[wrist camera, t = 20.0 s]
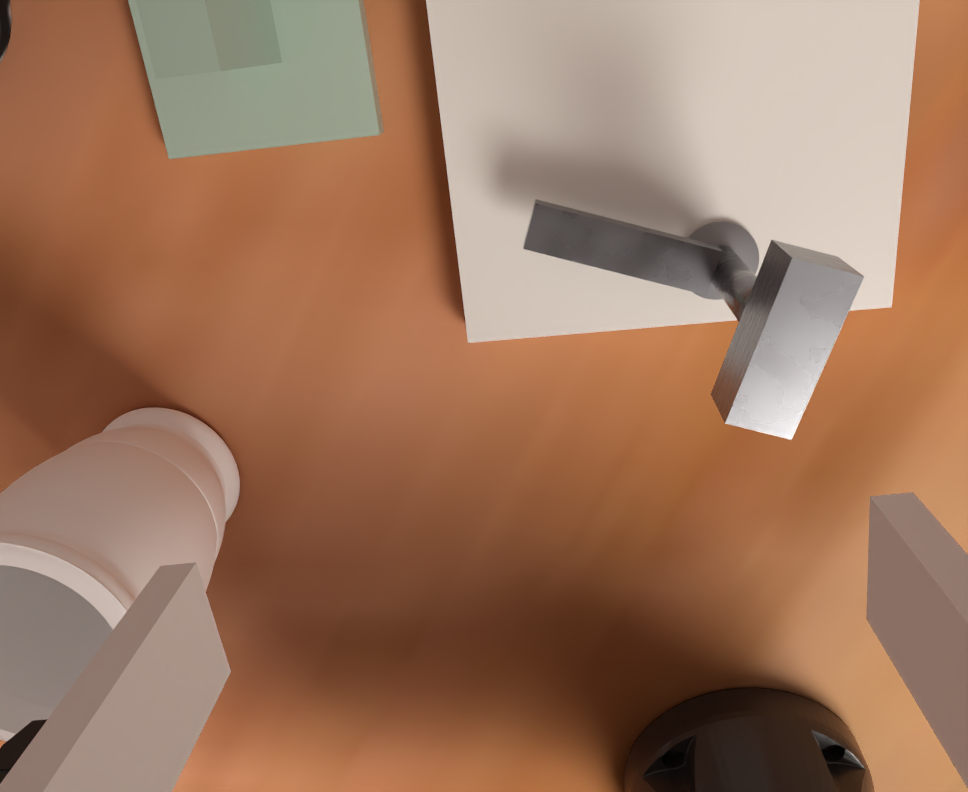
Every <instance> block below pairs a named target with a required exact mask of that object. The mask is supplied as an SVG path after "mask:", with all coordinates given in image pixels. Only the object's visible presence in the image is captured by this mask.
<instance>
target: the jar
mask: <svg viewBox="0 0 968 792" xmlns="http://www.w3.org/2000/svg"><path fill="white" fill-rule="evenodd" d="M239 492H240V478H239V472H238V468H237V465H236V462H235V459H234V457H233V455H232V453H231V451H230V450H229V448H228V447H227V445H226V444H225V442H224V441H223V440H222V439H221V438H220V436H219V435H218V434H217V433H216V432H215V431H213V430H212V429H211V428H210V427H209V426H207V425H206V424H204V423H203V422H202V421H200V420H198V419H196V418H194V417H192V416H190V415H188V414H186V413H183V412H180V411H177V410H173V409H167V408H158V407H152V408H142V409H137V410H133V411H130V412H127V413H125V414H123V415H121V416H119V417H118V418H116V419H115V420H113V421H112V422H111V423H110V424H109V425H108V426H107V427H106V428H105V429H104V430H103V431H102V433H99V434H96V435H94V436H91V437H89V438H87V439H84V440H82V441H80V442H78V443H77V444H75V445H73V446H71V447H70V448H68V449H66V450H65V451H63V452H61V453H59V454H57V455H55V456H53V457H52V458H50V459H48V460H46V461H44V462H43V463H41V464H39V465H37V466H36V467H34V468H33V469H31V470H30V471H28V472H27V473H25V474H24V475H22V476H21V477H20V478H18V479H17V480H16V481H14V482H13V483H12V484H11V485H9V486H8V487H7V488H6V489H5V490H4V491H2V492H1V493H0V740H3V741H6V742H7V741H8V740H9V739H11V738H12V737H13V736H14V735H16V734H17V733H18V732H19V731H20V730H22V729H23V728H24V727H25V726H26V725H28V724H29V723H30V722H31V721H33V720H46V719H48V718H49V717H50V715H51V714H52V713H53V711H54V710H55V709H56V707H57V706H58V705H59V703H60V702H61V700H62V699H63V698H64V696H65V695H66V694H67V692H68V691H69V690H70V688H71V687H72V685H73V684H74V683H75V681H76V680H77V679H78V677H79V676H80V675H81V673H82V672H83V670H84V669H85V668H86V666H87V665H88V664H89V662H90V661H91V660H92V658H93V657H94V655H95V654H96V653H97V651H98V650H99V649H100V647H101V646H102V645H103V643H104V642H105V640H106V639H107V638H108V636H109V635H110V634H111V632H112V631H113V630H114V628H115V627H116V625H117V624H118V623H119V621H120V620H121V619H122V617H123V616H124V615H125V613H126V612H127V610H128V609H129V608H130V606H131V605H132V604H133V602H134V601H135V600H136V598H137V597H138V595H139V594H140V593H141V591H142V590H143V589H144V587H145V586H146V585H147V583H148V582H149V580H150V579H151V578H152V576H153V575H154V574H155V572H156V571H157V570H158V568H159V567H160V566H164V565H174V564H184V563H194V562H196V563H197V566H198V569H199V573H200V576H201V579H202V582H203V585H204V588H205V591H206V590H207V587H208V585H209V582H210V578H211V575H212V571H213V567H214V563H215V561H216V558H217V556H218V553H219V550H220V547H221V543H222V540H223V535H224V530H225V522H226V521H227V520H228V519H229V518H230V516H231V515H232V513H233V511H234V509H235V507H236V505H237V502H238V498H239Z"/></svg>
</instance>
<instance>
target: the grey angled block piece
mask: <svg viewBox="0 0 968 792" xmlns="http://www.w3.org/2000/svg"><path fill="white" fill-rule="evenodd" d="M523 249H525V250H529V251H533V252H537V253H541V254H545V255H549V256H553V257H557V258H561V259H565V260H569V261H573V262H576V263H580V264H584V265H588V266H592V267H596V268H600V269H604V270H608V271H612V272H616V273H620V274H624V275H628V276H632V277H636V278H640V279H643V280H647V281H651V282H655V283H659V284H663V285H667V286H671V287H675V288H679V289H683V290H687V291H691V292H695V293H699V294H703V295H707V292H708V289H709V287H710V284H711V283H712V284H713V286H714V287H715V288H716V290H717V291H718V293H719V294H720V296H721V297H722V298H723V300H724V301H725V303H726V304H727V306H728V307H729V308H730V310H731V311H732V313H733V314H734V315H735V317H736V318H737V320H738V321H739V324H738V326H737V329H736V331H735V334H734V336H733V339H732V342H731V344H730V347H729V349H728V352H727V354H726V357H725V359H724V362H723V365H722V367H721V370H720V372H719V375H718V377H717V380H716V382H715V385H714V388H713V390H712V393H711V396H712V398H713V400H714V402H715V404H716V406H717V408H718V410H719V412H720V414H721V416H722V418H723V420H724V422H725V424H730V425H734V426H738V427H742V428H746V429H750V430H754V431H758V432H762V433H766V434H770V435H774V436H778V437H782V438H786V439H791V440H792V437H793V435H794V433H795V431H796V428H797V426H798V424H799V422H800V419H801V417H802V415H803V413H804V410H805V408H806V406H807V404H808V401H809V399H810V397H811V395H812V393H813V390H814V388H815V386H816V384H817V381H818V379H819V377H820V375H821V372H822V370H823V368H824V366H825V363H826V361H827V359H828V357H829V355H830V352H831V350H832V348H833V346H834V343H835V341H836V339H837V337H838V334H839V332H840V330H841V328H842V325H843V323H844V321H845V319H846V316H847V314H848V312H849V310H850V308H851V305H852V303H853V301H854V299H855V296H856V294H857V292H858V290H859V287H860V285H861V283H862V281H863V278H864V276H863V275H862V274H860V273H859V272H858V271H856V270H855V269H854V268H852V267H851V266H850V265H848V264H847V263H846V262H844V261H843V260H842V259H840V258H839V257H837V256H833V255H829V254H826V253H822V252H818V251H814V250H810V249H806V248H802V247H798V246H795V245H791V244H787V243H783V242H779V241H775V240H771V242H770V245H769V247H768V250H767V252H766V255H765V257H764V260H763V262H762V265H761V268H760V270H759V273H758V275H757V276H756V275H755V274H754V273H753V271H752V270H751V269H750V268H749V267H748V266H747V265H746V264H745V263H744V262H743V260H742V259H741V258H740V257H739V256H738V255H737V254H736V253H735V252H734V250H732V249H731V248H730V247H728V246H724V245H719V246H716V245H713V244H709V243H705V242H701V241H697V240H693V239H689V238H685V237H681V236H678V235H674V234H670V233H666V232H662V231H658V230H654V229H650V228H646V227H642V226H639V225H635V224H631V223H627V222H623V221H619V220H615V219H611V218H607V217H604V216H600V215H596V214H592V213H588V212H584V211H580V210H576V209H572V208H569V207H565V206H561V205H557V204H553V203H549V202H545V201H541V200H537V199H535V202H534V206H533V210H532V214H531V217H530V221H529V225H528V229H527V232H526V236H525V240H524V244H523Z"/></svg>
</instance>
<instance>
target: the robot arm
mask: <svg viewBox="0 0 968 792" xmlns="http://www.w3.org/2000/svg"><path fill="white" fill-rule="evenodd" d="M867 620H868V622H869V624H870V626H871V627H872V629H873V631H874V632H875V634H876V636H877V637H878V639H879V641H880V642H881V644H882V646H883V647H884V649H885V651H886V652H887V654H888V656H889V657H890V659H891V661H892V662H893V664H894V666H895V667H896V669H897V671H898V672H899V674H900V676H901V677H902V679H903V681H904V682H905V684H906V686H907V687H908V689H909V691H910V692H911V694H912V696H913V697H914V699H915V701H916V703H917V704H918V706H919V708H920V709H921V711H922V713H923V714H924V716H925V718H926V719H927V721H928V723H929V724H930V726H931V728H932V729H933V731H934V733H935V734H936V736H937V738H938V739H939V741H940V743H941V744H942V746H943V748H944V749H945V751H946V753H947V754H948V756H949V758H950V759H951V761H952V763H953V764H954V766H955V768H956V769H957V771H958V773H959V774H960V776H961V778H962V779H963V781H964V783H965V785H966V786H967V788H968V554H967V553H966V552H965V551H964V550H963V549H962V548H961V546H960V545H959V544H958V543H957V542H956V541H955V540H954V538H953V537H952V536H951V535H950V534H949V533H948V532H947V531H946V529H945V528H944V527H943V526H942V525H941V524H940V523H939V521H938V520H937V519H936V518H935V517H934V516H933V515H932V513H931V512H930V511H929V510H928V509H927V508H926V507H925V506H924V504H923V503H922V502H921V501H920V500H919V499H918V498H917V496H916V495H915V494H914V493H913V492H912V493H901V494H891V495H881V496H871V497H870V514H869V549H868V584H867ZM230 673H231V670H230V667H229V664H228V661H227V658H226V654H225V651H224V648H223V645H222V642H221V639H220V636H219V632H218V629H217V626H216V623H215V620H214V617H213V613H212V610H211V607H210V604H209V601H208V598H207V595H206V591H205V588H204V585H203V582H202V579H201V576H200V573H199V569H198V566H197V563H196V562H194V563H184V564H174V565H164V566H160V567H159V568H158V570H157V571H156V572H155V574H154V575H153V576H152V578H151V579H150V580H149V582H148V583H147V585H146V586H145V587H144V589H143V590H142V591H141V593H140V594H139V595H138V597H137V598H136V600H135V601H134V602H133V604H132V605H131V606H130V608H129V609H128V610H127V612H126V613H125V615H124V616H123V617H122V619H121V620H120V621H119V623H118V624H117V625H116V627H115V628H114V630H113V631H112V632H111V634H110V635H109V636H108V638H107V639H106V640H105V642H104V643H103V645H102V646H101V647H100V649H99V650H98V651H97V653H96V654H95V655H94V657H93V658H92V660H91V661H90V662H89V664H88V665H87V666H86V668H85V669H84V670H83V672H82V673H81V675H80V676H79V677H78V679H77V680H76V681H75V683H74V684H73V685H72V687H71V688H70V690H69V691H68V692H67V694H66V695H65V696H64V698H63V699H62V700H61V702H60V703H59V705H58V706H57V707H56V709H55V710H54V711H53V713H52V714H51V715H50V717H49V718H48V719H46V720H33V721H31V722H30V723H29V724H28V725H26V726H25V727H24V728H23V729H22V730H20V731H19V732H18V733H17V734H16V735H14V736H13V737H12V738H11V739H9V740H8V741H7V742H6V743H5V744H3V746H2V747H1V748H0V792H172V791H173V789H174V786H175V784H176V782H177V780H178V778H179V776H180V774H181V772H182V770H183V768H184V766H185V764H186V762H187V760H188V758H189V756H190V754H191V752H192V750H193V748H194V746H195V744H196V742H197V740H198V738H199V736H200V734H201V732H202V730H203V727H204V725H205V723H206V721H207V719H208V717H209V715H210V713H211V711H212V709H213V707H214V705H215V703H216V701H217V699H218V697H219V695H220V693H221V691H222V689H223V687H224V685H225V683H226V681H227V679H228V677H229V675H230ZM624 787H625V792H874V786H873V782H872V778H871V774H870V771H869V768H868V766H867V764H866V761H865V759H864V757H863V755H862V752H861V750H860V748H859V746H858V744H857V742H856V740H855V738H854V736H853V734H852V733H851V731H850V730H849V729H848V727H847V726H846V725H845V724H844V723H843V722H842V721H841V720H840V719H839V718H838V717H837V716H836V715H834V714H833V713H832V712H830V711H829V710H828V709H826V708H824V707H823V706H821V705H819V704H817V703H815V702H813V701H811V700H809V699H806V698H804V697H801V696H798V695H795V694H791V693H787V692H783V691H777V690H770V689H757V688H744V689H732V690H724V691H719V692H714V693H710V694H706V695H703V696H700V697H697V698H694V699H691V700H689V701H686V702H684V703H682V704H680V705H678V706H676V707H674V708H672V709H671V710H669V711H667V712H666V713H664V714H663V715H662V716H660V717H659V718H658V719H656V720H655V721H654V722H653V723H652V724H651V725H649V726H648V727H647V728H646V729H645V731H644V732H643V733H642V734H641V735H640V737H639V738H638V739H637V741H636V742H635V744H634V745H633V747H632V749H631V751H630V753H629V756H628V758H627V762H626V766H625V771H624Z"/></svg>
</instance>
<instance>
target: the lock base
mask: <svg viewBox="0 0 968 792" xmlns="http://www.w3.org/2000/svg"><path fill="white" fill-rule="evenodd" d="M919 1H920V0H426V5H427V13H428V21H429V29H430V37H431V46H432V54H433V62H434V70H435V78H436V86H437V94H438V102H439V110H440V119H441V127H442V135H443V143H444V151H445V159H446V167H447V175H448V184H449V192H450V200H451V208H452V216H453V224H454V232H455V240H456V248H457V257H458V265H459V273H460V281H461V289H462V297H463V305H464V313H465V322H466V330H467V338H468V343H472V342H484V341H496V340H508V339H520V338H531V337H543V336H555V335H567V334H579V333H591V332H603V331H615V330H626V329H638V328H650V327H662V326H674V325H686V324H698V323H710V322H721V321H733V320H737V318H736V317H735V315H734V314H733V313H732V311H731V310H730V308H729V307H728V306H727V304H726V303H725V301H724V300H723V298H722V297H721V296H720V294H719V293H718V291H717V290H716V288H715V287H714V286H713V284H712V283H711V284H710V287H709V289H708V292H707V295H703V294H699V293H695V292H691V291H687V290H683V289H679V288H675V287H671V286H667V285H663V284H659V283H655V282H651V281H647V280H643V279H640V278H636V277H632V276H628V275H624V274H620V273H616V272H612V271H608V270H604V269H600V268H596V267H592V266H588V265H584V264H580V263H576V262H573V261H569V260H565V259H561V258H557V257H553V256H549V255H545V254H541V253H537V252H533V251H529V250H525V249H523V244H524V240H525V236H526V232H527V229H528V225H529V221H530V217H531V214H532V210H533V206H534V202H535V199H537V200H541V201H545V202H549V203H553V204H557V205H561V206H565V207H569V208H572V209H576V210H580V211H584V212H588V213H592V214H596V215H600V216H604V217H607V218H611V219H615V220H619V221H623V222H627V223H631V224H635V225H639V226H642V227H646V228H650V229H654V230H658V231H662V232H666V233H670V234H674V235H678V236H681V237H685V238H689V239H693V240H697V241H701V242H705V243H709V244H713V245H716V246H719V245H724V246H728V247H730V248H731V249H732V250H734V252H735V253H736V254H737V255H738V256H739V257H740V258H741V259H742V260H743V262H744V263H745V264H746V265H747V266H748V267H749V268H750V269H751V270H752V271H753V273H754V274H755V275H756V276H757V275H758V273H759V270H760V268H761V265H762V262H763V260H764V257H765V255H766V252H767V250H768V247H769V245H770V242H771V240H775V241H779V242H783V243H787V244H791V245H795V246H798V247H802V248H806V249H810V250H814V251H818V252H822V253H826V254H829V255H833V256H837V257H839V258H840V259H842V260H843V261H844V262H846V263H847V264H848V265H850V266H851V267H852V268H854V269H855V270H856V271H858V272H859V273H860V274H862V275H863V276H864V278H863V281H862V283H861V285H860V287H859V290H858V292H857V294H856V296H855V299H854V301H853V303H852V305H851V308H850V310H849V311H852V310H864V309H876V308H888V307H892V298H893V287H894V276H895V265H896V254H897V243H898V232H899V221H900V210H901V199H902V188H903V177H904V166H905V155H906V144H907V133H908V122H909V111H910V100H911V89H912V78H913V67H914V56H915V45H916V34H917V23H918V12H919Z"/></svg>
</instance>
